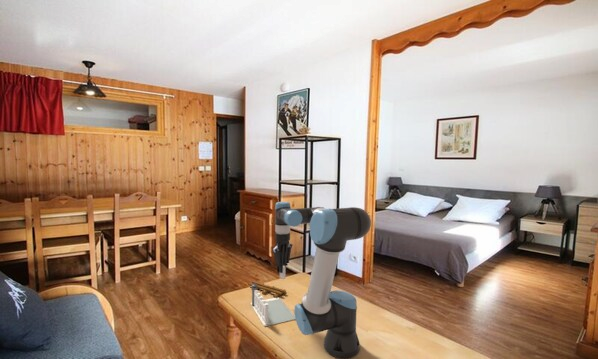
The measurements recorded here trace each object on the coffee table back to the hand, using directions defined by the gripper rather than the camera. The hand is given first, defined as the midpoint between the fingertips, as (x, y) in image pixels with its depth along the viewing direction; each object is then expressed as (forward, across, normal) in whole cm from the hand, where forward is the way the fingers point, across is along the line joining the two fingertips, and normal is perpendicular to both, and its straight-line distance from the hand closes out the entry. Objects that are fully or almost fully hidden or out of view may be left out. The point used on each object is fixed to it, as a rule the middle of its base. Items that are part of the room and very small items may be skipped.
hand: (282, 278), depth 152 cm
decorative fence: (+18, -14, -26) cm, 35 cm away
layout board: (+19, +1, -6) cm, 20 cm away
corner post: (+19, +4, -17) cm, 26 cm away
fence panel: (+18, +8, -7) cm, 21 cm away
